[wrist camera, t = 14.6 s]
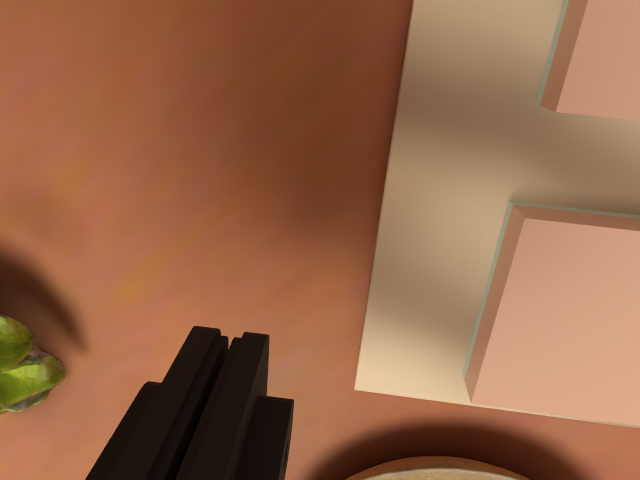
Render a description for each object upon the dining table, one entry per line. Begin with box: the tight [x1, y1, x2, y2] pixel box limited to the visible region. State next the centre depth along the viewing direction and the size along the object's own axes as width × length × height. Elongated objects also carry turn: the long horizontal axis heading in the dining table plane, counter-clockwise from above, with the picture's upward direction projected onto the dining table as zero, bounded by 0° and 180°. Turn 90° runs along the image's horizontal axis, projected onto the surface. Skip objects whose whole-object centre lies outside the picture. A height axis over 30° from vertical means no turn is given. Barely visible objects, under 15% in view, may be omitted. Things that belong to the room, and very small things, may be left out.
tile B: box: [462, 200, 640, 426], centre depth 15 cm, size 7×2×9 cm
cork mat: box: [354, 0, 640, 428], centre depth 14 cm, size 20×14×1 cm
